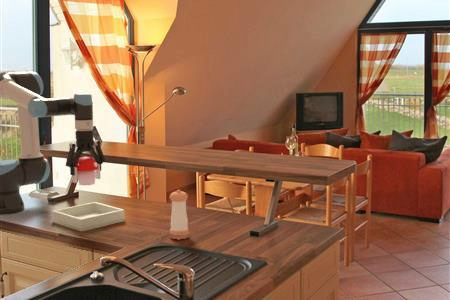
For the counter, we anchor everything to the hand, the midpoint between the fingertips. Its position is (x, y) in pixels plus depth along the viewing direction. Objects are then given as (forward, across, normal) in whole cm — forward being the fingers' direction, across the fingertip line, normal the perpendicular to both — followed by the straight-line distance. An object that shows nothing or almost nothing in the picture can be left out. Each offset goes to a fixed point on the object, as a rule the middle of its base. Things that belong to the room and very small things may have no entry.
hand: (86, 180), depth 250 cm
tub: (+18, 0, 0) cm, 18 cm away
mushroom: (+2, 0, 0) cm, 2 cm away
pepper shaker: (+18, +10, -48) cm, 52 cm away
